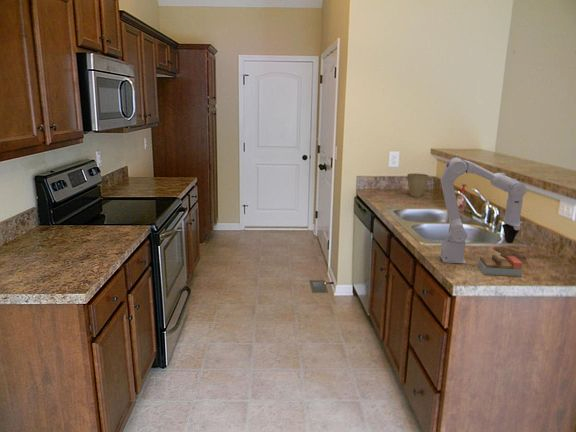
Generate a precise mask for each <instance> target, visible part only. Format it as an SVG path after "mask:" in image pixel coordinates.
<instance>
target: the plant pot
mask: <svg viewBox="0 0 576 432" xmlns="http://www.w3.org/2000/svg"><path fill="white" fill-rule="evenodd" d="M406 175H407V185H408V190H409V193H410V196H411V197H413V196H415V197H414V198H422V196H423V194H424V192H425V189H426V186H427V183H428V180H429V176H430V175H429V174H425V173H417V172H416V173H407V174H406Z"/></svg>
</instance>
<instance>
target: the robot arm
mask: <svg viewBox="0 0 576 432" xmlns="http://www.w3.org/2000/svg"><path fill="white" fill-rule="evenodd" d="M465 173H466V174H472V173H473V174H474V175H478V176H480V177H482V178H485V179H486V180H489V181H490V184H491V186H493V187H495V188H497V189H500V190H502V191H504V192H505V193H507V199H506V205H505V213H504V216H503V220H502V221H503V224H501V227H502V229H503V232H504V241H505V242H506V244H513V243H514V241H515V238H516V236H517V234H518V233H519V232H520V231H521V225H522V224H523V223H524V222H523V221H522V220H521V214H522V209H523V203H524V202H523V200H524V199H523V198H524V197H525V195H526V194H527V190H526V186H525V184H523V183H522V182H520V181H518V180H517V179H516V178H512V177H510V176H507V175H506V173H504V172H496V173H494V172H491V171H489V170H488V169H486V168H484V167H483V166H480V165H479V164H477V163H474V162H472V161H469V160H466V159H462V158H460V157H456V156H455V157H451V159H449V161H447V162H446V164H445V167H444V170H443V172H442V174H441V177H440V184H441V189H442V193H443V198H444V203H445V208H446V211H447V217H448V224H449V227H448V234H449V236H448V238H447V239H443V240H441V245H440V246H441V247H440V254H439V257H440V259H441V260H442V262H443V263H448V264H449V263H450V264H452V263H453V264H467V262H466V259H465V252H466V251H465V250H466V244H467V243H466V242H467V238H468V232H467V231H466V230H465V228H464V226H463V222H462V219H461V218H462V217H461V214H460V210H459V205H458V199H457V196H456V195H457V194H456V191H455V187H454V183H455V181H456V180H457V179H458V178H459V177H460V176H462V175H464V174H465Z"/></svg>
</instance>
